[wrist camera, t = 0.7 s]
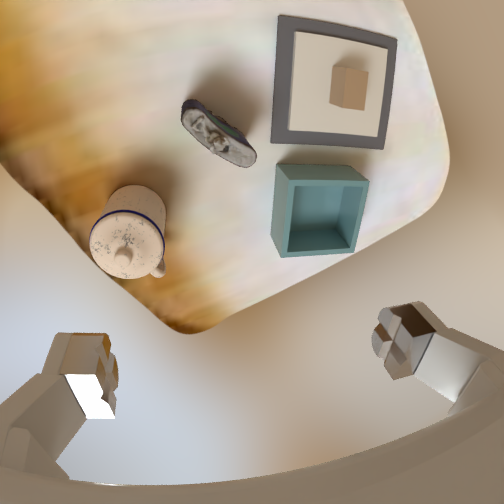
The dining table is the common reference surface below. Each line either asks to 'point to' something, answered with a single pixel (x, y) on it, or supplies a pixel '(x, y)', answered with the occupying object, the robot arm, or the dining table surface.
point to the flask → (217, 134)
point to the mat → (283, 83)
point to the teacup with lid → (130, 234)
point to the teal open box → (317, 209)
